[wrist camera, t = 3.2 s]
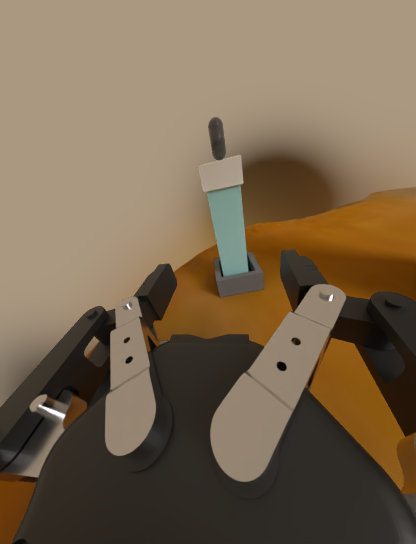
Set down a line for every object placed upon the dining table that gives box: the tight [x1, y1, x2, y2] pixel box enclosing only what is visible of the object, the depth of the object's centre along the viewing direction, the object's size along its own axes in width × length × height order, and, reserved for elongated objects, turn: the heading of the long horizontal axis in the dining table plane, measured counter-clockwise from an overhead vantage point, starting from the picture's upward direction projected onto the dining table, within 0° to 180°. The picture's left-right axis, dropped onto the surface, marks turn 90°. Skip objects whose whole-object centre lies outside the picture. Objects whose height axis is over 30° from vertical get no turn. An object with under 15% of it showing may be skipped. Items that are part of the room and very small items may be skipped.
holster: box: [214, 251, 264, 297], centre depth 25 cm, size 6×6×3 cm
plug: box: [198, 117, 248, 276], centre depth 21 cm, size 4×4×20 cm
